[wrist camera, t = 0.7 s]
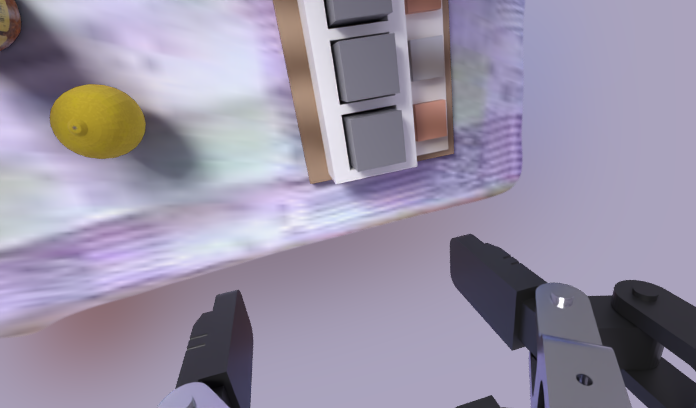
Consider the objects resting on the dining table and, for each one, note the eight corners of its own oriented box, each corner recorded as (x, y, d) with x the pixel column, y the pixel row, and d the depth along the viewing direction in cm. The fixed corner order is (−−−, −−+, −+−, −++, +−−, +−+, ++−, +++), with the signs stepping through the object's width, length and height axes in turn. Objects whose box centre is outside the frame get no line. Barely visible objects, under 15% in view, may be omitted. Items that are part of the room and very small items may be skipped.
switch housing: (289, -42, 28) (292, -61, 24) (381, -52, 29) (398, -72, 25) (328, 173, 34) (335, 184, 31) (401, 158, 36) (417, 166, 32)
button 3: (340, 115, 31) (350, 119, 27) (386, 107, 31) (401, 110, 28) (347, 162, 32) (358, 171, 29) (390, 153, 33) (406, 161, 29)
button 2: (329, 46, 29) (338, 41, 25) (378, 39, 29) (394, 32, 26) (338, 99, 30) (347, 102, 26) (384, 91, 31) (399, 92, 27)
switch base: (263, -45, 28) (263, -56, 26) (440, -64, 30) (453, -75, 28) (309, 181, 35) (312, 187, 33) (449, 151, 38) (460, 155, 35)
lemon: (160, 93, 30) (124, 96, 22) (154, 154, 31) (119, 175, 24) (87, 76, 28) (22, 73, 21) (85, 141, 30) (24, 160, 22)
